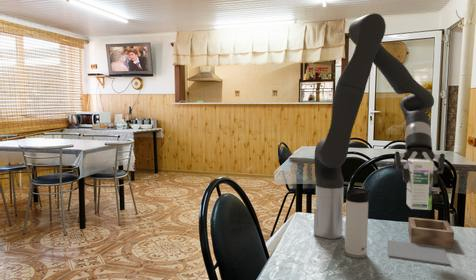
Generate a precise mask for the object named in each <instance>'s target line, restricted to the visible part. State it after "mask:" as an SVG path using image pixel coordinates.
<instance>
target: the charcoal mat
mask: <svg viewBox="0 0 476 280" xmlns="http://www.w3.org/2000/svg"><path fill="white" fill-rule="evenodd" d="M387 253H388V258H394V259H401V260H408V261H414V262H422V263H429V264H436V265H442V266H450V267H451V266H452V264H451V261H450V259H449V257H448V255H447V252H446V250H445V247H440V246H432V245H424V244H416V243H411V242H405V241H396V240H391V239H390V240H389V239H387Z"/></svg>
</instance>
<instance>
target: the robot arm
mask: <svg viewBox="0 0 476 280" xmlns="http://www.w3.org/2000/svg"><path fill="white" fill-rule="evenodd" d="M386 27H387V25H386V21H385V19H384V17H383V16H382V15H381V13H380V14H379V13H376V12H375V13H373V12H372V13H369V14H366V15H363V16H361V17H358V18H355V20H353V21H352V22H351V23H350V25H349V28H348V36H349V39H350V40H351V42H352V43H353V44H354V45H355V48H354V51H353V54H352V56H351V58H350V60H349V61H348V63H347V65H345V67H344V69H343V71H342V73H341V74H340V76H339V77H338V79H337V81H336V82H337V83H336V86H335V90H334V94H333V97H332V103H331V118H330V119H331V120H330V127H329V129H328V132H327V135H326V137H325V138H323V139H322V140H320V141H319V142H318V143H317V144H316V146H315V148H314V149H315V150H314V178H315V206H314V209H313V236H317V237H320V238H323V239H327V240H328V239H329V240H332V239H334V240H336V239H340V238H342V237H343V226H344V225H343V222H344V221H343V219H344V188H345V187H344V185H345V184H344V181H345V179H344V177H343V173H342V165H343V164H344V163H345V161H346V160H347V158H348V153H349V149H350V141H351V138H352V136H351V135H352V132H353V129H354V125H355V122H356V120H357V117H358V113H359V112H360V111H359V110H360V107H361V105H362V101H363V98H364V95H365V91H366V88H367V84H368V80H369V78H370V75H371V71H372V69H373V64H374V66H375V67H376V68H377V69H378V70H379V71H380V73H381V74H382V76H384V78H385V79H386V81H387V82H388V83H389V85H390V86H391V88H392V89H393V91H394V92H395V93H396V94H397V95H404V94H409V95H406V96H404V97H403V98H402V99H400V103H399V108H400V110H401V112H402V114H403V116H404V120H405V136H404V140H405V143H404V144H405V151H404V152H399V151H395V152H394V161H395V162H394V163H395V169H396V172H401V173H402V181H403V182H405V184H407V183H408V182H409V170H408V168H409V165H408V159H430V160H432V161H434V160H435V161H436V162H437V163H438V167H437V166H436V165H435V163H434V162H433V186H435V185H436V184H437V183H438V179H439V177H438V175H442V174H443V173H444V170H445V159H446V157H445V156H446V155H445V153H440V154H435V153H434V151H433V142H432V141H433V140H432V131H431V128H430V127H431V126H430V116H429V115H428V113H427V112H426V111H427V110H429V109H432V108H433V106H434V104H435V99H434V96H433V94H432V93H431V92H430V91H429V90H428V89H426V88H425V87H423V85H421V84H420V83H419V82H417V81H416V80H415V79H414V77H413V76H412V74H411V73H410V71H409V70H408V69H407V67H406V66H405V65H404V63H403V62H401V61H400V60H399V59H398V58H397V57H396V56H394V55H393V54H391V53H390V51H388V50H387V49H386V48H385V47H384V46H383V44H382V43H383V42H382V41H383V39H384V36H385V33H386ZM403 158H404V159H405V160H406V163H405V164H404V165H402V160H403Z"/></svg>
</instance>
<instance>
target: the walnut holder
mask: <svg viewBox="0 0 476 280" xmlns="http://www.w3.org/2000/svg"><path fill="white" fill-rule="evenodd" d="M407 226H408V227H407V230H408V237H409V241H410V243H416V244H423V245H431V246H439V247H443V248H450V249H454V241H455V239H454V238H455V231H454V230H453V229H452V227H451V225H450V223H449V222H448V220H440V219H439V220H438V219H431V218H419V217H412V216H411V217H409V216H408V225H407Z"/></svg>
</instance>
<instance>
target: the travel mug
mask: <svg viewBox="0 0 476 280" xmlns="http://www.w3.org/2000/svg"><path fill="white" fill-rule="evenodd" d="M369 193H371V191H370V188H353V189H348V190H347V191H346V199H345V202H346V203H345V230H344V232H345V233H344V235H345V236H344V254H345V256H347V257H350V258H353V259H363V258H365V257H367V255H368V251H367V250H368V225H369V224H368V223H369V221H368V220H369Z"/></svg>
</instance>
